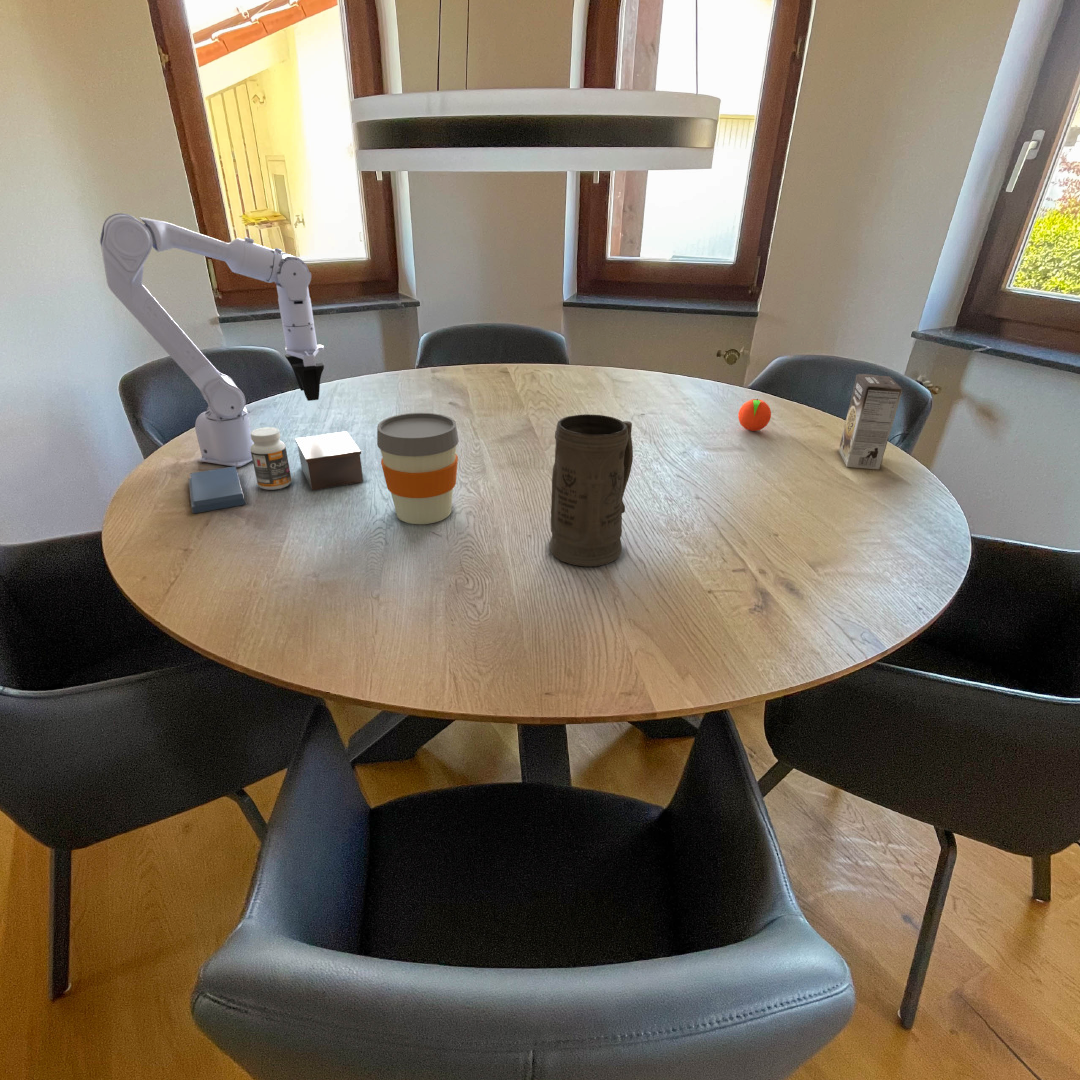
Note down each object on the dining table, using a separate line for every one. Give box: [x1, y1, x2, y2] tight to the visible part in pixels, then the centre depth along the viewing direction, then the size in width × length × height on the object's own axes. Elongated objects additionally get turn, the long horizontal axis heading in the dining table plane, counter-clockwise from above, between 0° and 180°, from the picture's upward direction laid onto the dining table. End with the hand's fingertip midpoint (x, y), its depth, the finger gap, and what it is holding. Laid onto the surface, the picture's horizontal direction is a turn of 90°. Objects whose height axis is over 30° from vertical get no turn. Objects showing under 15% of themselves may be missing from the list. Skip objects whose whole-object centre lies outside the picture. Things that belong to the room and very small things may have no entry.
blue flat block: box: [188, 466, 246, 514], centre depth 113 cm, size 8×13×2 cm, turn 27°
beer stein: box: [549, 413, 634, 567], centre depth 95 cm, size 15×11×20 cm
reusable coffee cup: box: [376, 412, 460, 525], centre depth 105 cm, size 13×13×15 cm
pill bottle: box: [250, 426, 292, 491], centre depth 115 cm, size 6×6×10 cm
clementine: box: [737, 398, 772, 432], centre depth 145 cm, size 8×7×7 cm
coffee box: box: [838, 373, 904, 471], centre depth 128 cm, size 9×6×16 cm
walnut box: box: [294, 431, 364, 491], centre depth 120 cm, size 9×11×6 cm
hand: (309, 394), depth 130 cm, fingers open, 7 cm apart
